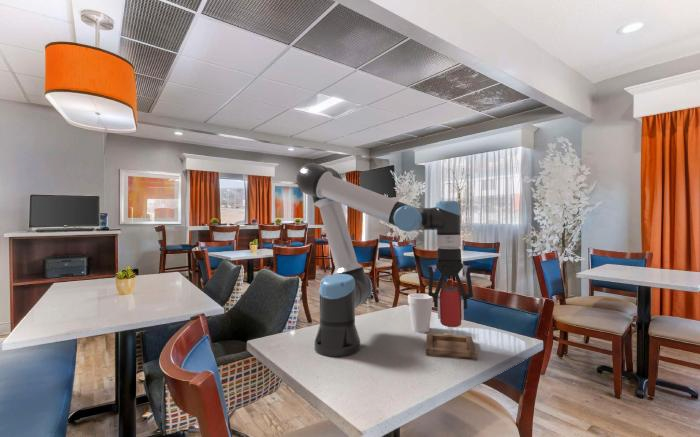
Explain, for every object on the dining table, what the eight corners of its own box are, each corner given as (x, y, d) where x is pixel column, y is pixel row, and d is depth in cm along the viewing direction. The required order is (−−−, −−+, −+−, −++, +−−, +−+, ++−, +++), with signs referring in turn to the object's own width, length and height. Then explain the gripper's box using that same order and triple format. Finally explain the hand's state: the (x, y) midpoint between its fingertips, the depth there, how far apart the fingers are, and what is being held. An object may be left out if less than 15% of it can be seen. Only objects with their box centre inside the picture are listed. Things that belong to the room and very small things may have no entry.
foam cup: (438, 332, 123) (437, 297, 123) (417, 335, 120) (416, 299, 120) (423, 324, 132) (423, 292, 132) (403, 327, 128) (403, 294, 129)
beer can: (463, 323, 108) (462, 287, 108) (458, 328, 102) (457, 290, 102) (443, 320, 111) (442, 285, 112) (437, 325, 106) (436, 288, 106)
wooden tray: (425, 355, 101) (425, 348, 101) (426, 337, 117) (426, 331, 117) (477, 360, 98) (477, 353, 98) (471, 340, 114) (470, 334, 114)
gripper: (418, 248, 106) (419, 319, 106) (482, 248, 101) (484, 323, 101) (419, 247, 113) (420, 313, 113) (478, 247, 109) (480, 316, 108)
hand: (450, 318), depth 107 cm, fingers closed on beer can, 7 cm apart
